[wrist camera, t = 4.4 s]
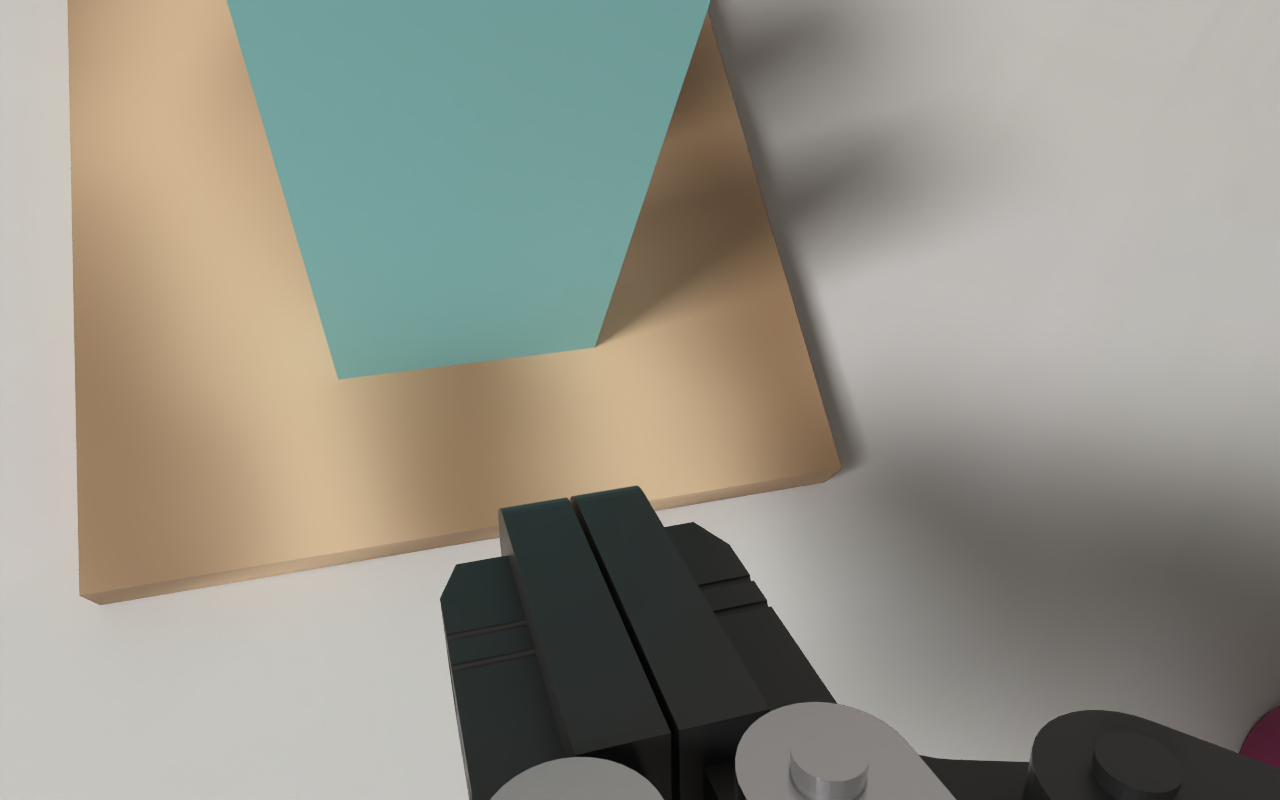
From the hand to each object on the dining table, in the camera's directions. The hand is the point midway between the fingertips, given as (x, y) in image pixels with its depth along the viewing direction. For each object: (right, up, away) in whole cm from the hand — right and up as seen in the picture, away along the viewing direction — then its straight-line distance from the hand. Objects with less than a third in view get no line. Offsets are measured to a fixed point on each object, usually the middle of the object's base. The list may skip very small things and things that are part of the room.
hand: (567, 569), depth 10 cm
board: (-5, +11, +12) cm, 17 cm away
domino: (-3, +3, +9) cm, 10 cm away
